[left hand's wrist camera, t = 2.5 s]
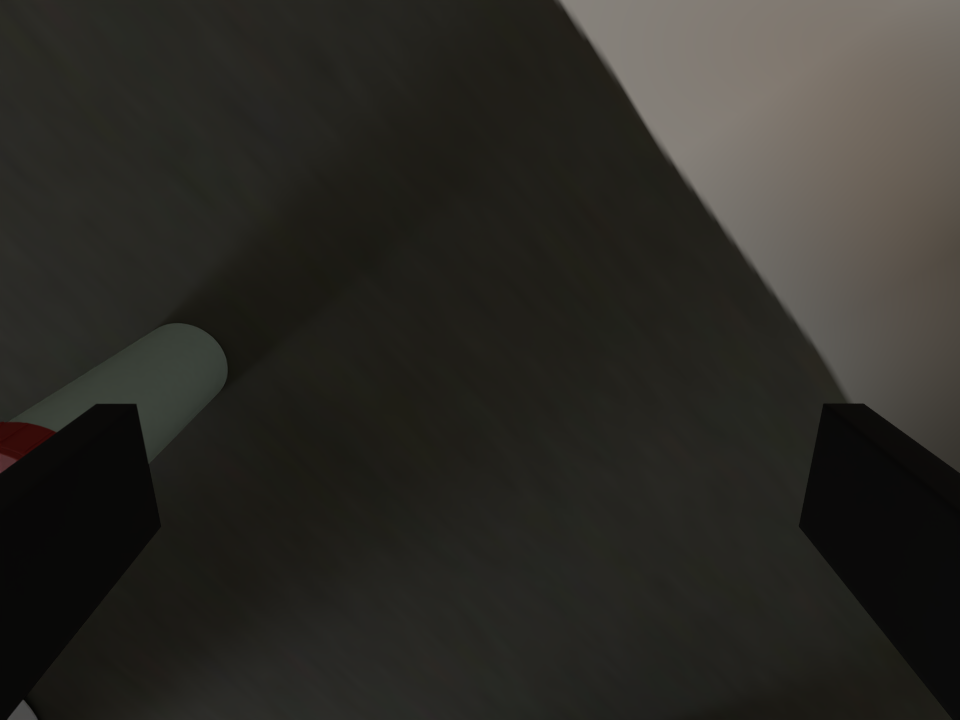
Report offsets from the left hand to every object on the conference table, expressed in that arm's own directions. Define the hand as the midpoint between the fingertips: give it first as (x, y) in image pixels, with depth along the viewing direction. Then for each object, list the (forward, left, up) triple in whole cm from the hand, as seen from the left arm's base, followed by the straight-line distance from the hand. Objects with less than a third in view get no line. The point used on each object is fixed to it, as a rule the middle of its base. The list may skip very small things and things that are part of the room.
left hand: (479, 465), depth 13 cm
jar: (-8, +19, -28) cm, 35 cm away
